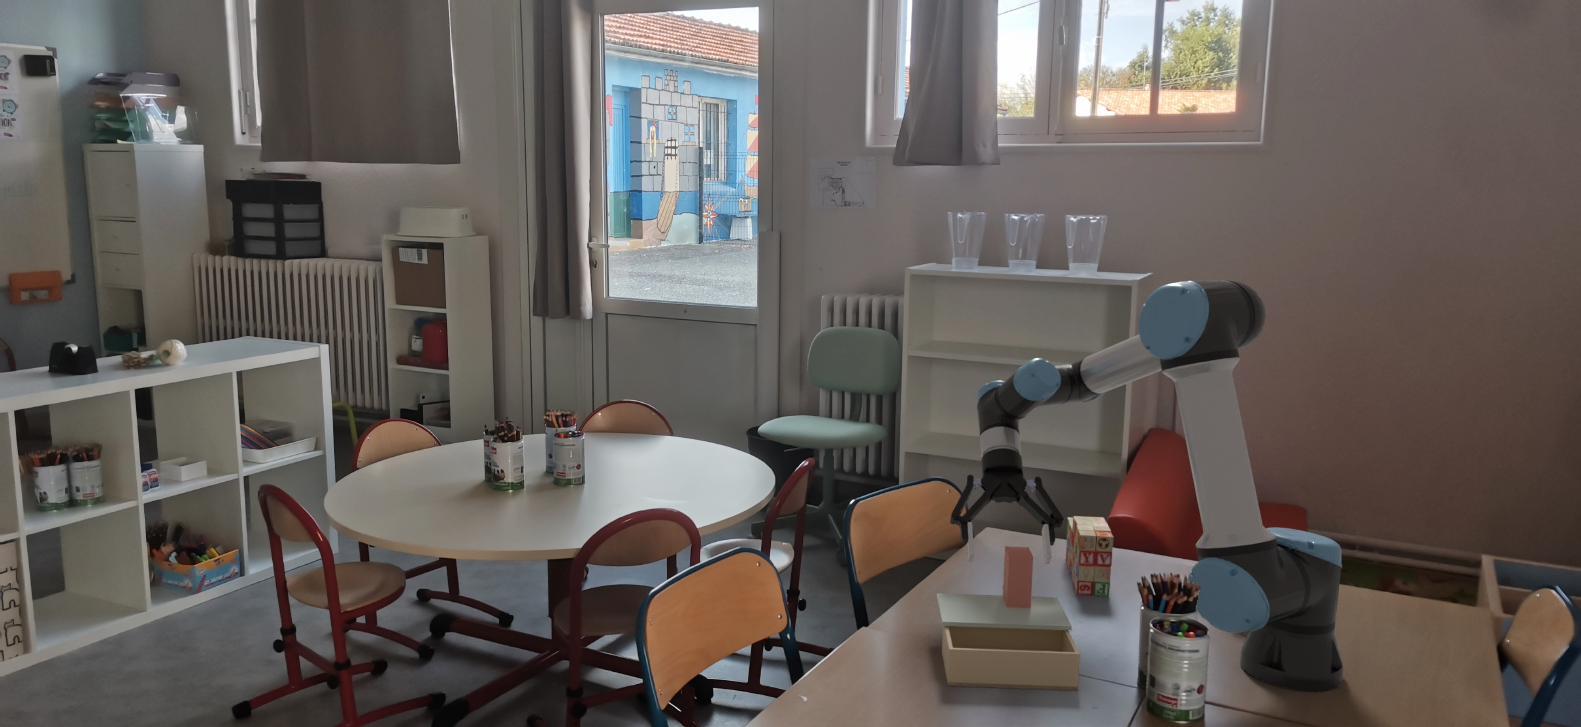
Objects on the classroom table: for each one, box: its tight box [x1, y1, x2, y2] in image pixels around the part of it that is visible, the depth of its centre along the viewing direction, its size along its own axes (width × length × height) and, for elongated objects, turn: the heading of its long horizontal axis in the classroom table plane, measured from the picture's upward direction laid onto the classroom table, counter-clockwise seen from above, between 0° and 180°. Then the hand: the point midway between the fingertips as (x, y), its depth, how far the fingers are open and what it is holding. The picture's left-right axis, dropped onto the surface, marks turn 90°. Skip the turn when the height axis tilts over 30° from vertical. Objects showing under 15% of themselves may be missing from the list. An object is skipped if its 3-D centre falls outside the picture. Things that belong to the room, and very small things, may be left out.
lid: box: [935, 545, 1073, 631], centre depth 181 cm, size 21×13×10 cm, turn 87°
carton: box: [941, 626, 1081, 691], centre depth 174 cm, size 20×12×6 cm, turn 87°
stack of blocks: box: [1065, 515, 1114, 597], centre depth 217 cm, size 21×6×12 cm, turn 172°
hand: (1009, 559), depth 192 cm, fingers open, 13 cm apart
